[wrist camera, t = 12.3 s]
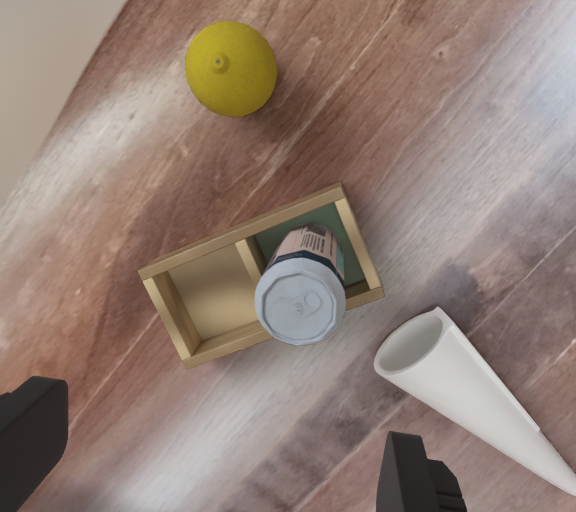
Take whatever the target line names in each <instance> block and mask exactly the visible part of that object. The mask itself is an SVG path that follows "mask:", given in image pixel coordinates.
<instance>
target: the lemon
mask: <svg viewBox="0 0 576 512" xmlns="http://www.w3.org/2000/svg"><path fill="white" fill-rule="evenodd" d="M185 71H186V76H187V81H188V83H189V86H190V88H191V90H192V92H193V94H194V95H195V96H196V98H197V99H198V100H199V101H200V103H202V104H203V105H204V106H205V107H207V108H208V109H209V110H211V111H213V112H215V113H218V114H220V115H223V116H230V117H238V116H245V115H247V114H250V113H252V112H255V111H256V110H258V109H259V108H260V107H262V106H263V105H264V104H265V103H266V101H267V100H268V99H269V98H270V96H271V94H272V92H273V90H274V88H275V84H276V79H277V63H276V59H275V56H274V52H273V50H272V49H271V47H270V45H269V43H268V42H267V40H266V39H265V38H264V37H263V36H262V35H261V34H260V33H259V32H258V31H257V30H255V29H253V28H252V27H250V26H248V25H246V24H243V23H239V22H236V21H221V22H218V23H214V24H211V25H209V26H208V27H206V28H204V29H203V30H201V31H200V32H199V33H198V34H197V35H196V36H195V37H194V39H193V41H192V42H191V44H190V46H189V48H188V52H187V55H186V63H185Z"/></svg>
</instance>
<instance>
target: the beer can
mask: <svg viewBox="0 0 576 512" xmlns="http://www.w3.org/2000/svg"><path fill="white" fill-rule="evenodd" d="M343 259H344V251H343V246H342V244H341V242H340V240H339V238H338V237H337V235H336V234H335V233H334V232H333V231H332V230H331V229H329V228H328V227H326V226H323V225H320V224H317V223H304V224H300V225H297V226H295V227H293V228H292V229H290V230H289V231H288V232H287V233H286V234H285V235H284V236H283V238H282V240H281V242H280V243H279V245H278V247H277V249H276V251H275V253H274V255H273V257H272V259H271V260H270V262H269V264H268V266H267V268H266V270H265V272H264V274H263V275H262V277H261V279H260V281H259V283H258V285H257V287H256V291H255V301H254V304H255V310H256V314H257V317H258V319H259V321H260V323H261V325H262V326H263V327H264V328H265V329H266V330H267V332H268V333H269V334H270V335H272V336H273V337H275V338H276V339H278V340H280V341H283V342H285V343H288V344H290V345H296V346H303V345H311V344H315V343H318V342H320V341H322V340H325V339H326V338H327V337H329V336H330V335H331V334H333V333H334V332H335V330H336V329H337V328H338V327H339V325H340V324H341V322H342V319H343V317H344V314H345V307H346V298H345V287H344V260H343Z"/></svg>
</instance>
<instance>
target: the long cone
mask: <svg viewBox="0 0 576 512" xmlns="http://www.w3.org/2000/svg"><path fill="white" fill-rule="evenodd" d="M374 369H375V371H376V372H377V373H378V374H379V375H381V376H382V377H384V378H386V379H387V380H389V381H390V382H392V383H393V384H395V385H396V386H398V387H400V388H401V389H403V390H404V391H406V392H407V393H409V394H411V395H412V396H414V397H416V398H417V399H419V400H421V401H422V402H424V403H425V404H427V405H429V406H430V407H432V408H433V409H435V410H436V411H438V412H439V413H441V414H442V415H444V416H446V417H447V418H449V419H450V420H452V421H454V422H455V423H457V424H458V425H460V426H462V427H463V428H465V429H466V430H468V431H469V432H471V433H473V434H474V435H476V436H477V437H479V438H480V439H482V440H484V441H485V442H487V443H488V444H490V445H491V446H493V447H495V448H496V449H498V450H499V451H501V452H502V453H504V454H506V455H507V456H509V457H510V458H512V459H513V460H515V461H517V462H518V463H520V464H521V465H523V466H524V467H526V468H528V469H529V470H531V471H532V472H534V473H535V474H537V475H539V476H540V477H542V478H543V479H545V480H547V481H548V482H550V483H551V484H553V485H555V486H556V487H558V488H560V489H561V490H563V491H565V492H567V493H569V494H571V495H574V496H576V474H575V473H574V472H573V471H572V469H571V468H570V467H569V466H568V465H567V463H566V462H565V461H564V460H563V458H562V457H561V456H560V454H559V453H558V452H557V451H556V450H555V448H554V447H553V446H552V445H551V444H550V442H549V441H548V440H547V439H546V437H545V436H544V435H543V434H542V432H541V431H540V428H539V427H538V425H537V424H536V423H535V421H534V420H533V419H532V418H531V417H530V415H529V414H528V413H527V412H526V411H525V409H524V408H523V407H522V406H521V404H520V403H519V402H518V401H517V399H516V398H515V397H514V396H513V395H512V393H511V392H510V391H509V390H508V388H507V387H506V386H505V385H504V383H503V382H502V381H501V380H500V379H499V377H498V376H497V375H496V374H495V372H494V371H493V370H492V369H491V367H490V366H489V365H488V364H487V363H486V361H485V360H484V359H483V358H482V356H481V355H480V354H479V353H478V351H477V350H476V349H475V348H474V347H473V345H472V344H471V343H470V342H469V340H468V339H467V338H466V337H465V335H464V334H463V333H462V332H461V330H460V329H459V328H458V327H457V326H456V324H455V323H454V322H453V321H452V320H451V319H450V318H449V317H448V315H447V314H446V313H445V312H444V311H443V310H442V309H441V308H440V307H437V308H435V309H434V310H433V311H430V312H426V313H423V314H420V315H418V316H416V317H414V318H412V319H410V320H408V321H407V322H405V323H404V324H402V325H401V326H400V327H398V328H397V329H396V330H395V331H394V332H393V333H391V334H390V335H389V337H388V338H387V339H386V340H385V341H384V342H383V344H382V345H381V347H380V348H379V350H378V352H377V354H376V356H375V359H374Z"/></svg>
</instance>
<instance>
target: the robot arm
mask: <svg viewBox="0 0 576 512" xmlns="http://www.w3.org/2000/svg"><path fill="white" fill-rule="evenodd" d="M67 440H68V385H67V383H66V381H64V380H60V379H53V378H47V377H40V376H33V377H31V378H29V379H28V380H27V381H26V382H24V383H23V384H22V385H21V386H19V387H18V388H17V389H16V390H14V391H13V392H12V393H8V392H7V393H5V394H3V395H0V512H17V510H18V509H19V508H20V507H21V506H22V504H23V503H24V502H25V501H26V500H27V499H28V497H29V496H30V495H31V494H32V493H33V491H34V490H35V489H36V488H37V487H38V485H39V484H40V483H41V482H42V481H43V480H44V478H45V477H46V476H47V475H48V474H49V472H50V471H51V470H52V469H53V468H54V466H55V465H56V464H57V463H58V462H59V460H60V459H61V457H62V455H63V453H64V451H65V448H66V445H67ZM376 512H467V508H466V505H465V502H464V499H462V493H461V490H460V487H459V484H458V481H457V478H456V477H455V476H454V474H453V473H452V472H451V471H450V470H449V469H448V467H447V466H446V465H445V464H444V463H443V462H442V461H437V460H431V459H427V456H426V452H425V449H424V445H423V441H422V438H421V436H419V435H412V434H406V433H399V432H393V431H389V432H388V435H387V439H386V444H385V450H384V455H383V461H382V466H381V471H380V477H379V482H378V489H377V499H376Z"/></svg>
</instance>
